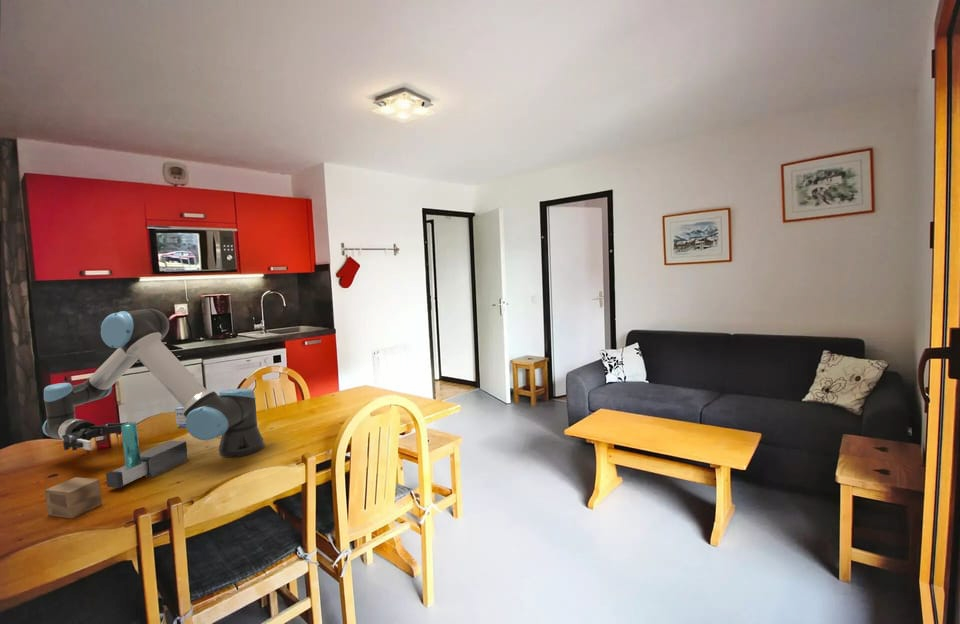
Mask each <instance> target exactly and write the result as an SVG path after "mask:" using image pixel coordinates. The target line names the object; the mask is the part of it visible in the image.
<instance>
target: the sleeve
mask: <svg viewBox="0 0 960 624" xmlns="http://www.w3.org/2000/svg"><path fill="white" fill-rule="evenodd" d="M140 460H148V466H149V473H148V474H146V475H144V476H147V477H146V478H148V477H153V478H155V477H157V476H159V475H161V474H163V473H165V472H167V471H169V470H171V469H174V468H175V466H176V465H178V464H180V463H182V464H184V463H185V461H186V462H188V461H189V458H188V445H187V441H185V440H184V441H181V440H168V441H165V442H163V443H161V444H159V445H156V446H153V447H151V448H149V449H147V450H144V451H140ZM187 460H188V461H187ZM183 462H184V463H183ZM180 465H181V464H180ZM178 466H179V465H178ZM173 467H174V468H173ZM176 467H177V466H176ZM166 470H167V471H166ZM164 471H165V472H164ZM162 472H163V473H162ZM160 473H161V474H160ZM158 474H159V475H158ZM156 475H157V476H156ZM154 476H155V477H154Z"/></svg>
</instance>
